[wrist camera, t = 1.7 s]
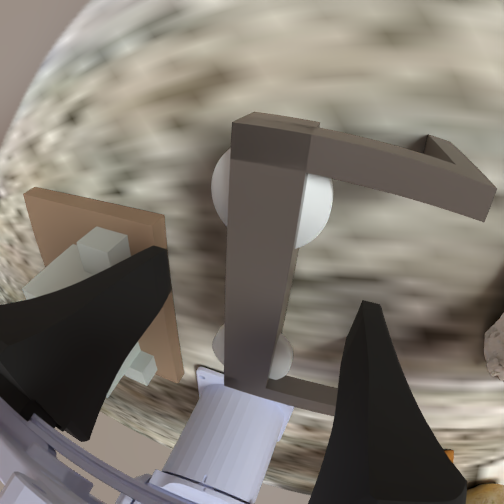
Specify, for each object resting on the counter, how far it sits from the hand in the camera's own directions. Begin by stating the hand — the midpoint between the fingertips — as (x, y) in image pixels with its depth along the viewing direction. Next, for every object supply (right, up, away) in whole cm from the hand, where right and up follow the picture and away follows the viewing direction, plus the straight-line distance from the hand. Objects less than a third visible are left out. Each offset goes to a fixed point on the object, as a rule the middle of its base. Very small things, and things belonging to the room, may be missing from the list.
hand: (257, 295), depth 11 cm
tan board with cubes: (-11, -1, +11) cm, 16 cm away
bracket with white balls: (+3, +2, +3) cm, 5 cm away
